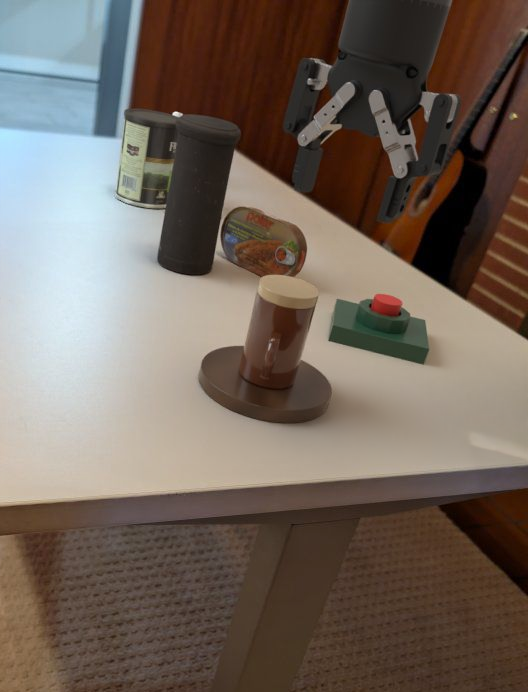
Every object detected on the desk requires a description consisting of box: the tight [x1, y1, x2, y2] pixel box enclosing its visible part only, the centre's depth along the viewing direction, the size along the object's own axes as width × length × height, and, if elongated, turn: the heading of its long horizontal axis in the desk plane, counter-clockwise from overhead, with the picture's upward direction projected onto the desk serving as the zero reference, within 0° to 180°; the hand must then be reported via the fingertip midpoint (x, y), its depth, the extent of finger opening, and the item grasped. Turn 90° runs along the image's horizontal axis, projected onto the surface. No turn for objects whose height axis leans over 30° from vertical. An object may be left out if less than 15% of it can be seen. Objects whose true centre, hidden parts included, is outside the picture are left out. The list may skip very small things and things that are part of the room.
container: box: [156, 113, 242, 275], centre depth 103 cm, size 9×9×20 cm
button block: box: [327, 298, 430, 365], centre depth 97 cm, size 12×10×4 cm
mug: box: [239, 275, 320, 389], centre depth 76 cm, size 8×6×10 cm
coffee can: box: [114, 108, 179, 210], centre depth 130 cm, size 10×10×14 cm
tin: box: [219, 205, 308, 278], centre depth 110 cm, size 15×3×8 cm, turn 43°
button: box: [370, 293, 403, 317], centre depth 95 cm, size 4×4×2 cm
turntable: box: [198, 345, 333, 424], centre depth 80 cm, size 14×14×2 cm
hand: (342, 205), depth 65 cm, fingers open, 8 cm apart
